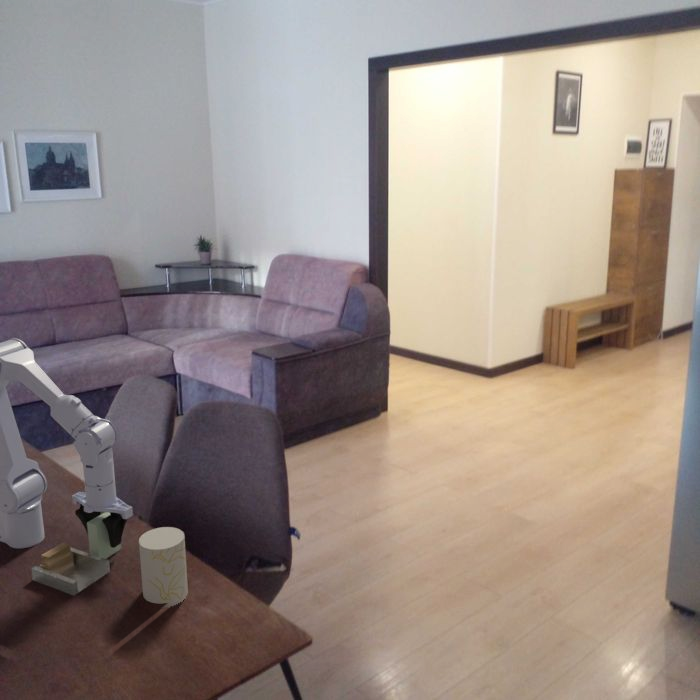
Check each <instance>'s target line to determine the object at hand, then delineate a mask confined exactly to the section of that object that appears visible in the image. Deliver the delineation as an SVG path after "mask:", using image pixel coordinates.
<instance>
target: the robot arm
mask: <svg viewBox="0 0 700 700" xmlns="http://www.w3.org/2000/svg"><path fill="white" fill-rule="evenodd" d="M9 382H20V383H22V384H23V385H24V386H26V387H27V389H28V390H30V391H32V393H33V394H35V395H36V396H38V398H40V399H41V400H42V401H43V402H44V403H46V404H47V405H48V406H49V407H50V416H51V417H52V418H53V420H55V422H57V424H59V425H60V426H61V428H63V429H64V431H66V432H67V433H68V434H69V435H70V436H71V437H72V438H73V439H74V441H73V446H74V448H75V449H74V450H76V452H77V453H78V454H79V456H80V457H79V458H80V462H81V464H82V467H83V468H82V470H83V479H84V481H83V482H84V490H85V492H83V491H82V492H81V491H78V492H76V493H75V494H72V495H71V498H72V504H73V505H76V506H78V505H79V508H77V509H76V510H75V512H74V513H75V516H76V517H77V518H78V519H79V520H80V522H81V523H82V525H83V527H84V528H85V529H84V530H85V531H86V534H87V535H88V529H87V522H89V521H91V520H92V519H94V518H96V517H98V516H99V515H101V514H102V513H105V512H109V513H110V515H109V516H107V517H106V518H104V519H102V521H103V523H104V524H105V526H106V529H107V531H108V535H109V542H110V546H111V547H112V548H115V547H116V546H118V545H119V544H121V545H122V540H123V539H122V538H123V533H124V529H125V526H126V524H127V521H128V520H129V518H131V517H132V516H134V513H133V512H134V511H133V506H131V505H128V504H127V503H126V502H125V501H123V500H122V499H120V498H119V497H117V488H116V479H115V463H114V454H113V451H114V450H113V445H115V443H116V442H117V440H118V431H117V429H116V427H115V426H114V424H113V423H112V422H111V420H109V419H106V418H101V417H99V416H97V415H95V414H93V413H92V412H91V410H89V409H88V408H87V407H86V406H85V405H84V404H83V403H82V400H81V399H80V398H78V397H76V396H75V395H74V394H73V395H72V394H65V393H64V392H62V390H61V389H60V388H59V387H58V385H56V384H55V382H54V381H53V380H52V379H51V378H50V377H49V376H48V374H46V372H45V371H44V370H43V369H42V368H41V367H40V365H39V364H38V363H37V362H36V361H35V354H34V350H32V349H31V348H30V347H28V345H27V344H26V343H25V342H24V341H23V340H21V339H20V338H16V337H13V338H10V339H7V340H5V341H2V342H0V542H1V543H4V544H7V545H8V546H9V547H10V548H13V549H25V548H31V547H33V546H36V545H38V544H40V543H41V542H42V541H43V540H44V539H45V527H44V519H43V510H42V503H41V501H42V500H43V499H44V498H43V494H45V492H46V491H47V489H48V480H47V478H46V476H45V475H44V473H43V472H42V470H41V469H40V466H39V463H38V462H37V461H36V460H33V459H30V458H28V457H27V453H26V451H25V448H24V444H23V441H22V438H21V434H20V431H19V428H18V423H17V422H16V418H15V414H14V411H13V407H12V405H11V401H10V399H9V394H8V391H7V386H8V384H9Z"/></svg>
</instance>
